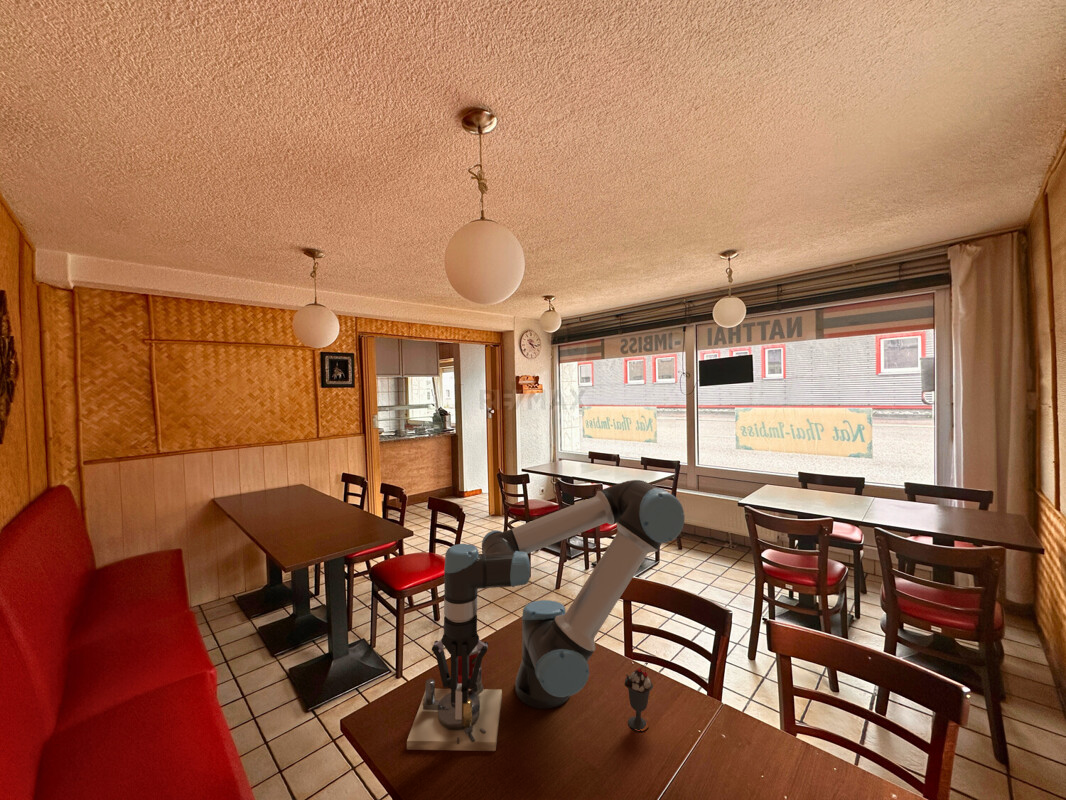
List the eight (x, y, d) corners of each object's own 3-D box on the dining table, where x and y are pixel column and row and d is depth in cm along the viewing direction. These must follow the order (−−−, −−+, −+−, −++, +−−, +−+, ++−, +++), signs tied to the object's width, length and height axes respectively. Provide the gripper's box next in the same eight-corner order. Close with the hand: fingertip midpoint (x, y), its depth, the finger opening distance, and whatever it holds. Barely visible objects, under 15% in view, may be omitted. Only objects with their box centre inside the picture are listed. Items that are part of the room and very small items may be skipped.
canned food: (476, 696, 117) (476, 655, 117) (447, 691, 119) (448, 651, 118) (485, 677, 125) (485, 639, 124) (458, 673, 126) (458, 635, 126)
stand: (501, 697, 117) (501, 683, 117) (495, 753, 98) (495, 738, 98) (426, 695, 117) (426, 682, 117) (405, 752, 99) (405, 736, 99)
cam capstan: (421, 708, 109) (421, 680, 109) (481, 690, 116) (481, 663, 116) (435, 748, 97) (435, 716, 97) (500, 725, 104) (501, 695, 104)
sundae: (657, 723, 108) (658, 663, 107) (643, 739, 103) (644, 676, 103) (633, 710, 112) (634, 652, 112) (619, 724, 107) (620, 663, 107)
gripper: (490, 606, 105) (489, 704, 106) (436, 605, 105) (435, 702, 106) (487, 623, 97) (485, 728, 98) (428, 622, 97) (427, 726, 98)
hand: (459, 714), depth 102 cm, fingers closed
